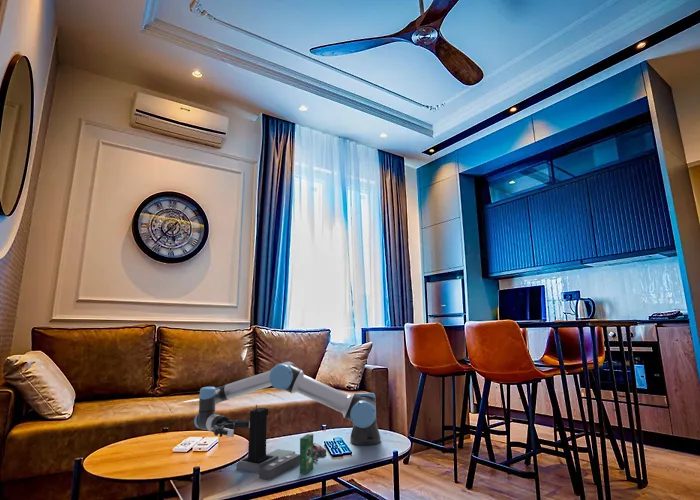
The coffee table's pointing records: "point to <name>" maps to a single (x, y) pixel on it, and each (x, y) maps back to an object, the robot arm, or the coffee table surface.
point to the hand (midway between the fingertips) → (246, 430)
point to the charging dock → (270, 465)
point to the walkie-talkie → (318, 451)
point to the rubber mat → (280, 453)
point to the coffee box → (306, 453)
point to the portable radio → (257, 435)
